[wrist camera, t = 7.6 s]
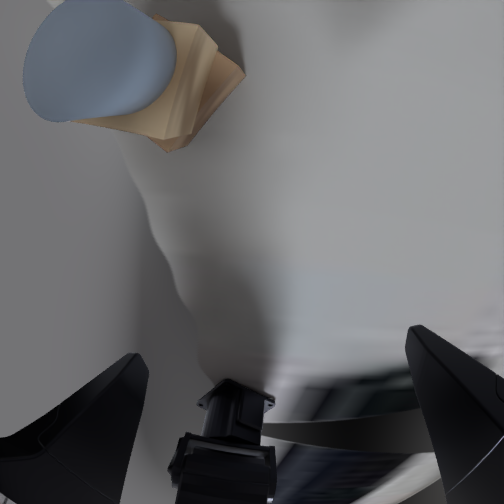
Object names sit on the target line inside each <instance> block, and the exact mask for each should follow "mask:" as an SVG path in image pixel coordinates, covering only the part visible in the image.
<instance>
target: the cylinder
mask: <svg viewBox="0 0 504 504" xmlns="http://www.w3.org/2000/svg"><path fill="white" fill-rule="evenodd" d="M176 61H177V51H176V46H175V42H174V40H173V37H172V36H171V34H170V33H169V31H168V30H167V29H166V28H165V27H163V26H162V25H161V24H159V23H158V22H156V21H155V20H153V19H152V18H150V17H149V16H147V15H146V14H144V13H143V12H141V11H140V10H138V9H136V8H135V7H133V6H131V5H130V4H128V3H127V2H125V1H123V0H66V1H64V2H63V3H62V4H60V5H59V6H58V7H56V8H55V9H54V10H53V11H52V12H51V13H50V14H49V15H48V16H47V17H46V19H45V20H44V21H43V22H42V24H41V25H40V27H39V28H38V29H37V31H36V33H35V35H34V37H33V38H32V41H31V43H30V45H29V48H28V50H27V53H26V57H25V61H24V68H23V86H24V91H25V95H26V98H27V101H28V103H29V105H30V106H31V108H32V109H33V111H34V112H35V113H36V114H37V115H39V116H40V117H41V118H43V119H45V120H48V121H51V122H66V121H72V120H80V119H88V118H97V117H107V116H119V115H128V114H133V113H136V112H138V111H141V110H143V109H144V108H146V107H148V106H149V105H151V104H152V103H153V102H154V101H156V100H157V99H158V98H159V97H160V95H161V94H162V93H163V92H164V91H165V89H166V88H167V86H168V84H169V83H170V81H171V79H172V76H173V74H174V71H175V67H176Z"/></svg>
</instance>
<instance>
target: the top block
mask: <svg viewBox="0 0 504 504" xmlns="http://www.w3.org/2000/svg"><path fill="white" fill-rule="evenodd" d="M155 21H156V22H158V23H159V24H161V25H162V26H163V27H165V28H166V29H167V30H168V31H169V33H170V34H171V36H172V37H173V40H174V42H175V46H176V51H177V61H176V67H175V71H174V74H173V76H172V79H171V81H170V83H169V84H168V86H167V88H166V89H165V91H164V92H163V93H162V94H161V95H160V97H159V98H158V99H157V100H156V101H154V102H153V103H152V104H151V105H149V106H148V107H146V108H144V109H143V110H141V111H138V112H136V113H133V114H128V115H119V116H107V117H97V118H88V119H80V120H72V121H71V122H77V123H83V124H89V125H95V126H100V127H106V128H111V129H116V130H121V131H126V132H131V133H136V134H140V135H145V136H149V137H154V138H158V139H162V140H165V139H169V138H174V137H178V136H183V135H187V134H191V133H192V129H193V126H194V122H195V119H196V115H197V112H198V108H199V105H200V101H201V98H202V95H203V92H204V88H205V85H206V82H207V79H208V76H209V73H210V70H211V67H212V64H213V61H214V58H215V55H216V52H217V49H218V45H217V44H216V43H215V42H214V41H213V40H212V39H211V37H210V36H209V35H208V34H207V33H206V32H205V31H204V30H203V28H202V27H201V26H200V25H199V24H191V23H182V22H172V21H159V20H155Z"/></svg>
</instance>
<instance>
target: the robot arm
mask: <svg viewBox="0 0 504 504" xmlns="http://www.w3.org/2000/svg"><path fill="white" fill-rule="evenodd" d="M405 352H406V356H407V360H408V364H409V368H410V372H411V376H412V380H413V384H414V388H415V392H416V395H417V398H418V401H419V404H420V407H421V409H422V413H423V416H424V419H425V422H426V425H427V428H428V431H429V435H430V438H431V441H432V445H433V448H434V451H435V455H436V459H437V463H438V466H439V470H440V474H441V478H442V482H443V487H444V491H445V494H446V501H447V504H504V378H502V377H501V376H499V375H498V374H497V375H496V373H495V372H493V371H492V370H490V369H489V368H487V367H486V366H484V365H483V364H481V363H480V362H478V361H477V360H475V359H474V358H472V357H471V356H469V355H468V354H466V353H465V352H463V351H461V350H460V349H458V348H457V347H455V346H454V345H452V344H451V343H449V342H448V341H446V340H444V339H443V338H441V337H440V336H438V335H437V334H435V333H434V332H432V331H430V330H429V329H427V328H426V327H424V326H423V325H415V326H411V327H409V329H408V333H407V339H406V344H405ZM148 378H149V370H148V368H147V366H146V364H145V362H144V360H143V358H142V357H141V355H140V354H139V353H128V354H126V355H125V356H123V357H122V358H121V359H119V360H118V361H117V362H116V363H114V364H113V365H111V366H110V367H109V368H107V369H106V370H105V371H103V372H102V373H101V374H99V375H98V376H97V377H95V378H94V379H93V380H91V381H90V382H89V383H87V384H86V385H84V386H83V387H82V388H80V389H79V390H78V391H76V392H75V393H74V394H72V395H71V396H70V397H68V398H67V399H66V400H64V401H63V402H62V403H60V405H57V406H56V407H55V408H53V409H52V410H51V411H49V412H48V413H46V414H45V415H44V416H42V417H40V418H39V419H37V420H36V421H34V422H33V423H31V424H29V425H28V426H26V427H24V428H23V429H21V430H20V431H18V432H16V433H15V434H12V435H11V436H8V437H2V438H0V504H119V503H120V499H121V494H122V490H123V485H124V481H125V477H126V472H127V468H128V464H129V460H130V456H131V452H132V448H133V445H134V441H135V437H136V433H137V430H138V425H139V422H140V418H141V415H142V410H143V406H144V400H145V394H146V389H147V382H148ZM197 406H199V407H201V408H203V409H205V410H207V412H206V416H205V421H204V425H203V430H202V434H201V436H199V435H195V434H191V433H189V432H186V434H185V436H184V437H182V438H179V442H178V445H177V449H176V452H175V454H174V456H173V458H172V460H171V462H170V464H169V466H168V472H169V474H170V475H171V481H172V488H176V489H178V491H177V497H176V502H175V504H267V503H271V502H272V500H273V498H274V495H275V490H276V483H277V472H276V456H275V446H269V447H268V446H260V442H261V430H262V429H263V418H264V413H265V412H267V411H268V410H270V409H272V408H273V407H274V406H275V401H274V400H271V399H269V398H267V397H265V396H263V395H260V394H258V393H256V392H254V391H252V390H250V389H248V388H246V387H244V386H242V385H240V384H238V383H236V382H234V381H232V380H229V379H224V380H223V381H222V382H220V383H219V384H218V385H217V386H216V387H214V388H213V389H212V390H211V391H209V392H208V393H207V394H206V395H204V396H203V397H202V398H201V399H199V400H198V401H197Z"/></svg>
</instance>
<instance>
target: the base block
mask: <svg viewBox="0 0 504 504" xmlns="http://www.w3.org/2000/svg"><path fill="white" fill-rule="evenodd" d="M152 19H153V20H159V21H169V20H167V19H165V18H163V17H162V16H160V15H158V14H155V15H154V16H153V18H152ZM245 77H246V75H245V74H244V73H243V71H242V70H241V69H240V67H239V66H238V65H237V64H235V63H234V62H233V61H231V60H230V59H228V58H227V57H226V56H224V55H223V54H221V53H220V52H218V51H217V52H216V55H215V58H214V61H213V64H212V67H211V70H210V73H209V76H208V79H207V82H206V85H205V88H204V92H203V95H202V98H201V101H200V105H199V108H198V112H197V115H196V119H195V122H194V126H193V129H192V133H191V134H187V135H183V136H178V137H174V138H169V139H165V140H162V139H158V138H154V137H149V136H147V137H148V138H149V139H151V140H152V141H153V142H154V143H156V144H157V145H158V146H160V147H161V148H162V149H163V150H165V151H166V152H167V153H168V152H170V151H173V150H176V149H179V148H182V147H185V146H187V145H188V144H189V143H190V142H191V140H192V139H193V138H194V136H195V135H196V134H197V133H198V131H199V130H200V129H201V128H202V126H203V125H204V124H205V123H206V121H207V120H208V119H209V118H210V117H211V115H212V114H213V113H214V112H215V111H216V109H217V108H218V107H219V106H220V105H221V104H222V102H223V101H224V100H225V99H226V98H227V97H228V95H229V94H230V93H231V92H232V91H233V90H234V89H235V88H236V86H237V85H238V84H239V83H240V82H241V81H242V80H243V79H244V78H245Z"/></svg>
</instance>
